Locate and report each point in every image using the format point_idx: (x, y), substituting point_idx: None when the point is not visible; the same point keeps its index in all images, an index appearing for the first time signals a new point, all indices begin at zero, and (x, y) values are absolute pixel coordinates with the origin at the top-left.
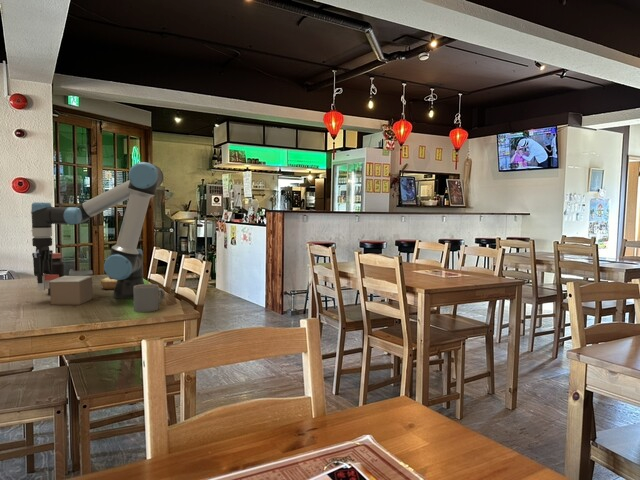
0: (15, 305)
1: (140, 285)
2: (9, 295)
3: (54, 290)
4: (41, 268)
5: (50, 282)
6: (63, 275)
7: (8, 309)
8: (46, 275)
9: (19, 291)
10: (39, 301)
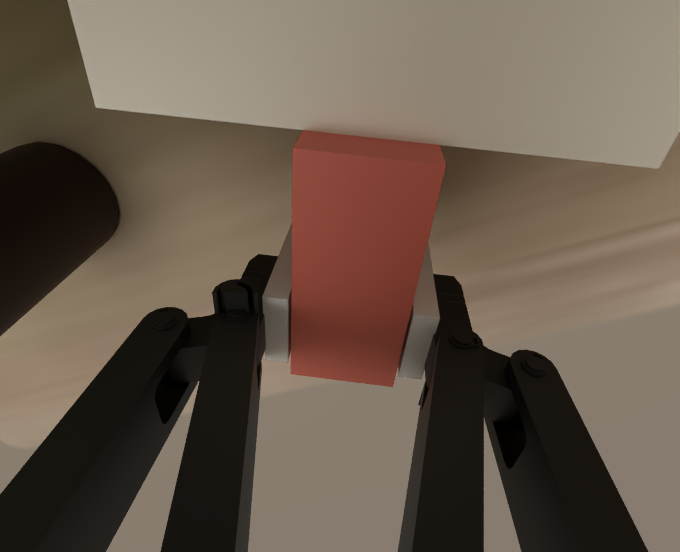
0: (473, 310)
1: None
2: None
3: None
4: (479, 437)
5: (52, 277)
6: None
7: (604, 309)
8: (382, 300)
9: (61, 395)
10: None
